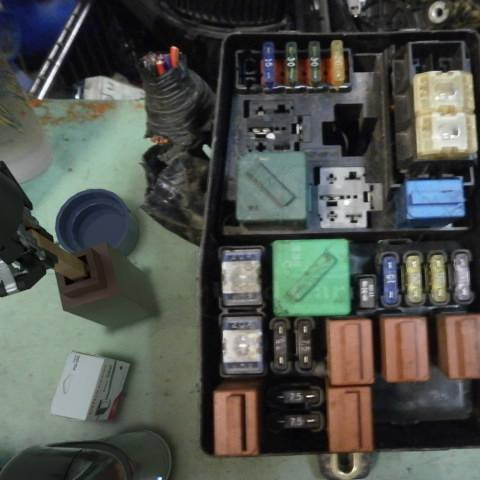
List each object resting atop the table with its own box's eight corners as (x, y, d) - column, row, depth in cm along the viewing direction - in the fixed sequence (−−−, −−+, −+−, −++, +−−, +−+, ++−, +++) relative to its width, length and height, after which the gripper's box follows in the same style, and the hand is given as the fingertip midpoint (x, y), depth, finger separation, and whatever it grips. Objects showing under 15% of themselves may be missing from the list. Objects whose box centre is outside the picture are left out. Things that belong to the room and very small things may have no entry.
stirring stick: (88, 276, 66) (35, 245, 53) (73, 281, 66) (16, 250, 52) (85, 262, 66) (31, 228, 53) (70, 267, 66) (13, 233, 53)
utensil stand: (155, 314, 85) (111, 288, 64) (111, 328, 84) (52, 306, 64) (144, 272, 86) (98, 235, 66) (101, 286, 86) (40, 252, 65)
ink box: (114, 420, 80) (84, 424, 69) (82, 413, 80) (47, 416, 69) (131, 362, 82) (105, 356, 71) (100, 355, 83) (69, 349, 71)
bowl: (146, 254, 87) (137, 244, 82) (77, 275, 86) (63, 267, 81) (130, 192, 90) (120, 179, 85) (63, 212, 89) (48, 200, 83)
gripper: (-118, 129, 42) (-1, 205, 59) (-95, 294, 39) (23, 325, 55) (-19, 103, 43) (69, 185, 60) (12, 262, 40) (96, 302, 56)
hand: (46, 252), depth 57 cm, fingers closed on stirring stick, 2 cm apart
